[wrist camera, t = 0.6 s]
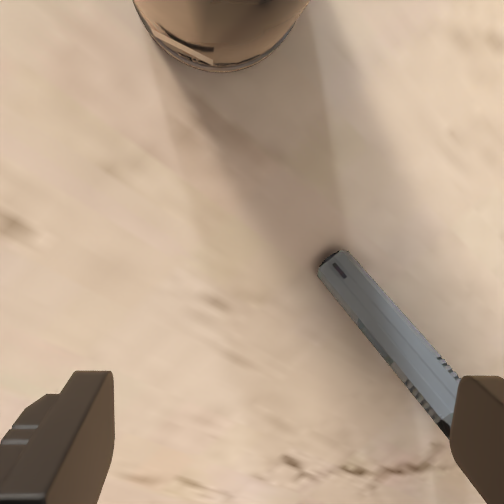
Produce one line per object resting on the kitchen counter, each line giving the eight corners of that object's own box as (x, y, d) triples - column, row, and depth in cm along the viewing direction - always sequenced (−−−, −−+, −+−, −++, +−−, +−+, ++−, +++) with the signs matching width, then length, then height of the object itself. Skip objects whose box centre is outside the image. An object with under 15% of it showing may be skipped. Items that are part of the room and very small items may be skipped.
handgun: (368, 293, 37) (342, 242, 26) (496, 442, 30) (529, 451, 19) (345, 311, 37) (310, 267, 27) (467, 462, 30) (484, 483, 20)
